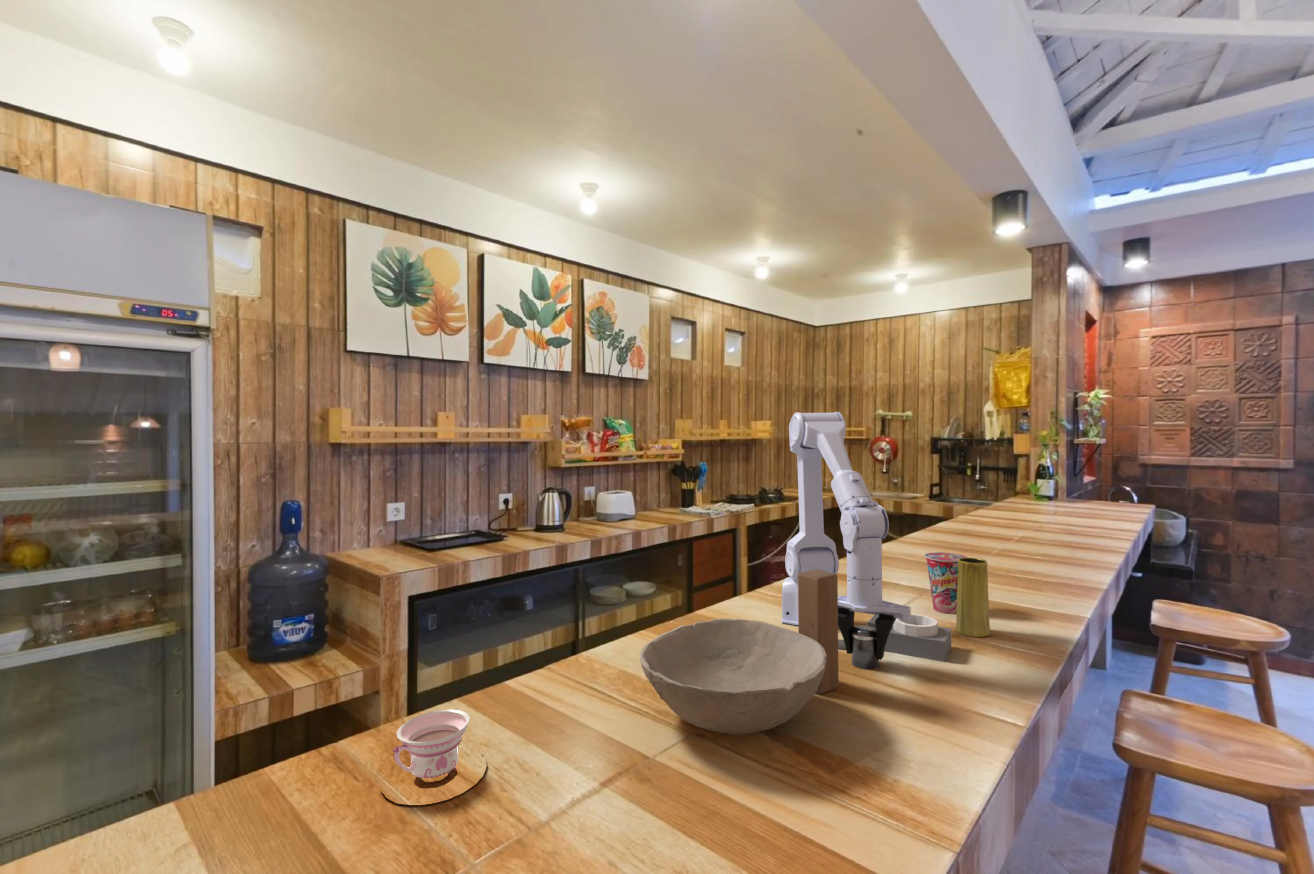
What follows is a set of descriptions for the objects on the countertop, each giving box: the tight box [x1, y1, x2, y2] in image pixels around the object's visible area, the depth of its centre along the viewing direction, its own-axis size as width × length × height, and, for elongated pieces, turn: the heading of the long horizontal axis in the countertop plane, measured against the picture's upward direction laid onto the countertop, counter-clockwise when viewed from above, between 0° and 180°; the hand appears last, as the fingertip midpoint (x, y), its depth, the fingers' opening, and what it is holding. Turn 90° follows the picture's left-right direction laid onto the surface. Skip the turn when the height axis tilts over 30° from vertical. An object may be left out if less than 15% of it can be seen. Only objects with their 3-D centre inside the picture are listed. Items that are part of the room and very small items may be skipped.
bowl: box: [638, 618, 827, 736], centre depth 85 cm, size 26×26×10 cm
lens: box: [851, 624, 880, 670], centre depth 104 cm, size 4×4×6 cm
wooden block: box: [797, 569, 840, 695], centre depth 97 cm, size 9×4×18 cm, turn 33°
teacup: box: [392, 708, 471, 778], centre depth 72 cm, size 12×12×6 cm
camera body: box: [867, 613, 952, 663], centre depth 111 cm, size 13×8×5 cm, turn 57°
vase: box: [955, 557, 991, 638], centre depth 118 cm, size 6×6×14 cm
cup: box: [924, 552, 970, 615], centre depth 133 cm, size 9×8×12 cm
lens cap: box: [838, 639, 846, 651], centre depth 113 cm, size 5×5×1 cm
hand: (865, 654), depth 104 cm, fingers closed on lens, 4 cm apart
